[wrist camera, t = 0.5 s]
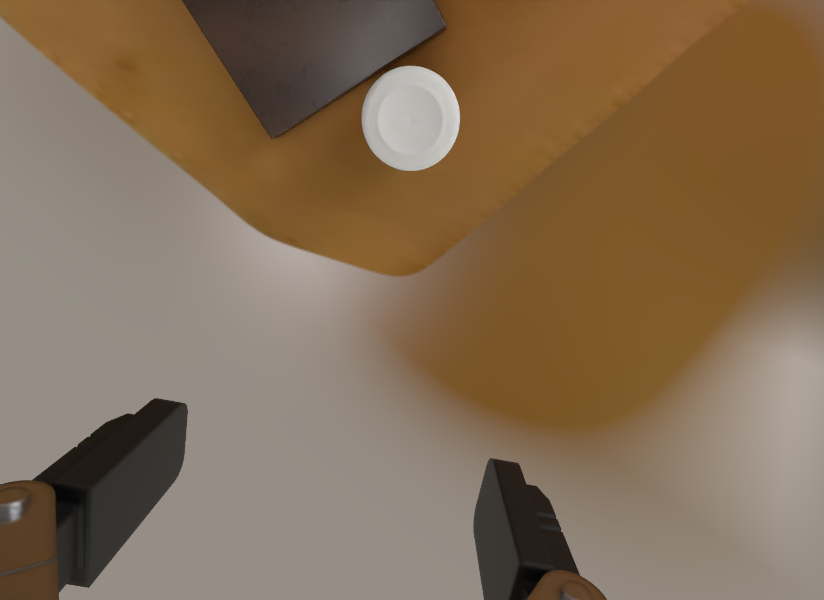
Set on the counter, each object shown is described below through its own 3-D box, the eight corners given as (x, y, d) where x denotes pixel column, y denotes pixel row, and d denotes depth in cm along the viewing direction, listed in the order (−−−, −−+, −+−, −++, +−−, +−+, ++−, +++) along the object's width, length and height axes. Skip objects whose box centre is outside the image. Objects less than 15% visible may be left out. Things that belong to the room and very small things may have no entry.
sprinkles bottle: (419, 157, 35) (411, 193, 23) (374, 111, 34) (339, 122, 21) (464, 109, 33) (481, 119, 21) (418, 59, 32) (408, 39, 20)
